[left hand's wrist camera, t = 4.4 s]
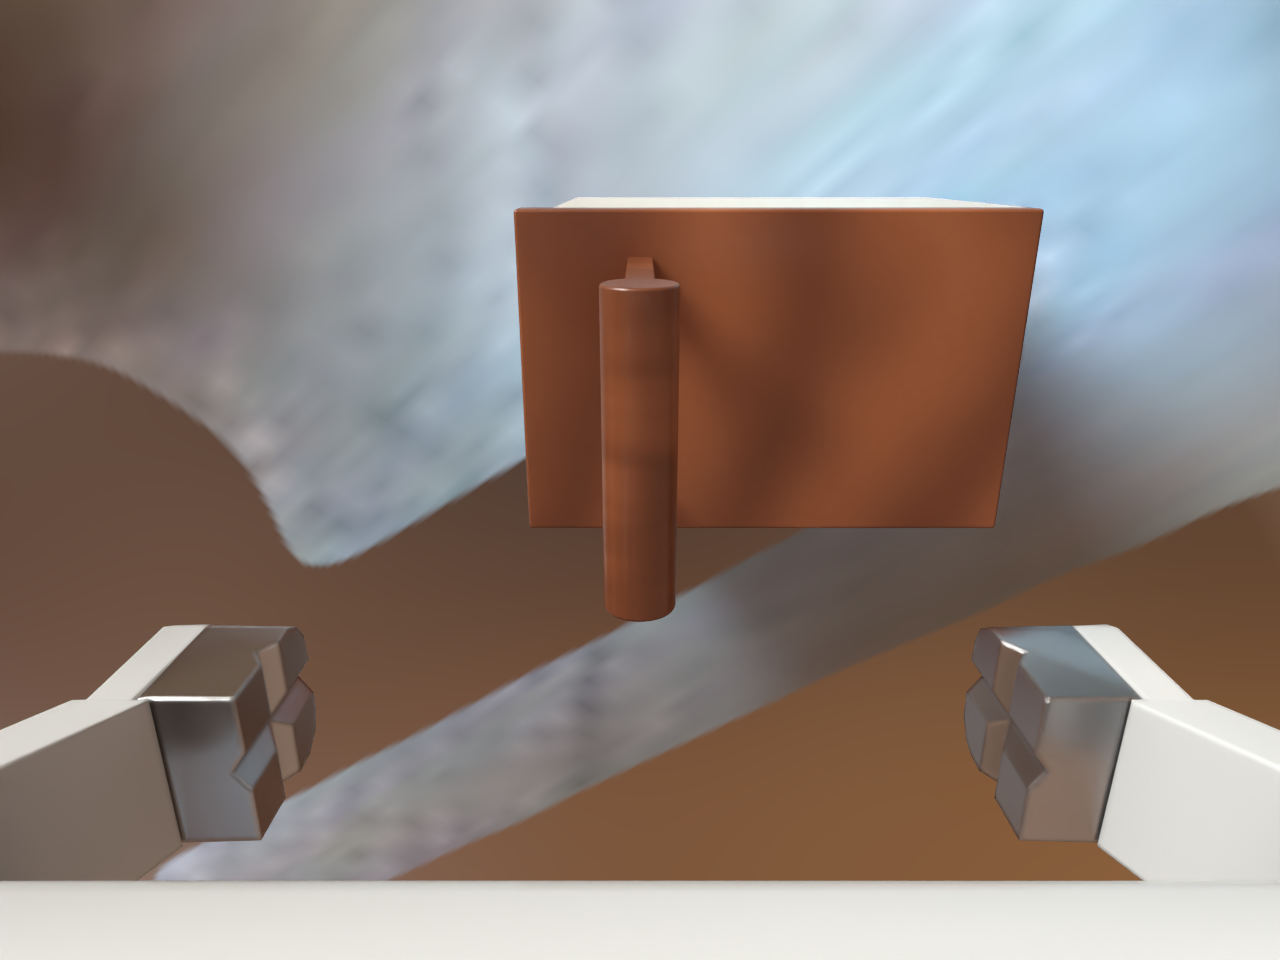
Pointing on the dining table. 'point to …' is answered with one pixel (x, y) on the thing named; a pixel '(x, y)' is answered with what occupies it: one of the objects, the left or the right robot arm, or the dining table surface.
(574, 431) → the lid
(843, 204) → the chest
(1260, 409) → the dining table surface
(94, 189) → the dining table surface
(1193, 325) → the dining table surface
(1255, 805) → the left robot arm
